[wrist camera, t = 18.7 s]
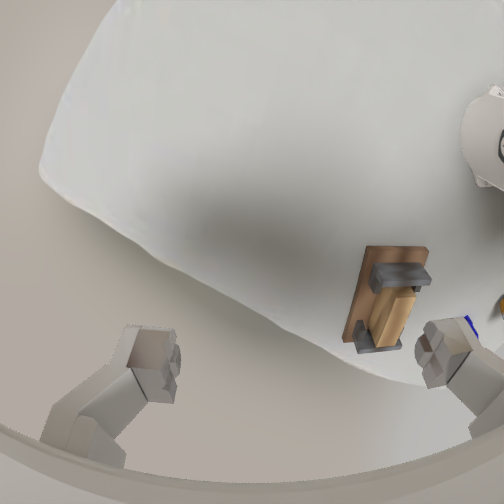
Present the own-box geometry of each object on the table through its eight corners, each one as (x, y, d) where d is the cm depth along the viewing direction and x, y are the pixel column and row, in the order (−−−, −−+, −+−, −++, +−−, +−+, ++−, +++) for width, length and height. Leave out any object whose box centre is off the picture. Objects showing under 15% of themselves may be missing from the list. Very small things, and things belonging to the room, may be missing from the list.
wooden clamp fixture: (425, 246, 47) (442, 267, 41) (392, 333, 58) (401, 355, 53) (366, 245, 47) (379, 268, 41) (342, 337, 58) (348, 361, 53)
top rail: (403, 275, 48) (416, 296, 43) (385, 323, 54) (394, 345, 49) (384, 275, 48) (396, 298, 43) (367, 324, 54) (376, 347, 49)
